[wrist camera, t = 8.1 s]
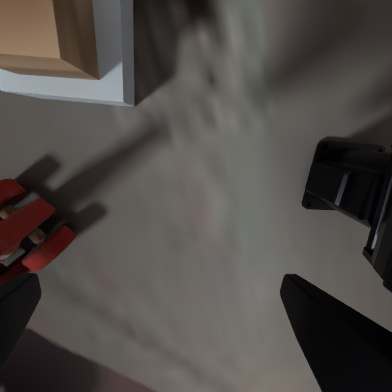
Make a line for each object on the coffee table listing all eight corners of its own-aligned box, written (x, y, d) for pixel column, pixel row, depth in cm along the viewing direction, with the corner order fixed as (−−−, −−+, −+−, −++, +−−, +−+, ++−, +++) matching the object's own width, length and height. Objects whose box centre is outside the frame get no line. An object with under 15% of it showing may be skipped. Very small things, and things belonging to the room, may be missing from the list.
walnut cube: (99, 80, 12) (60, 58, 8) (18, 74, 12) (-68, 47, 8) (90, -15, 11) (38, -102, 7) (-3, -27, 10) (-123, -128, 6)
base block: (133, -1, 14) (118, -45, 11) (135, 107, 17) (123, 102, 13) (25, -18, 14) (-33, -72, 10) (42, 98, 16) (0, 90, 12)
